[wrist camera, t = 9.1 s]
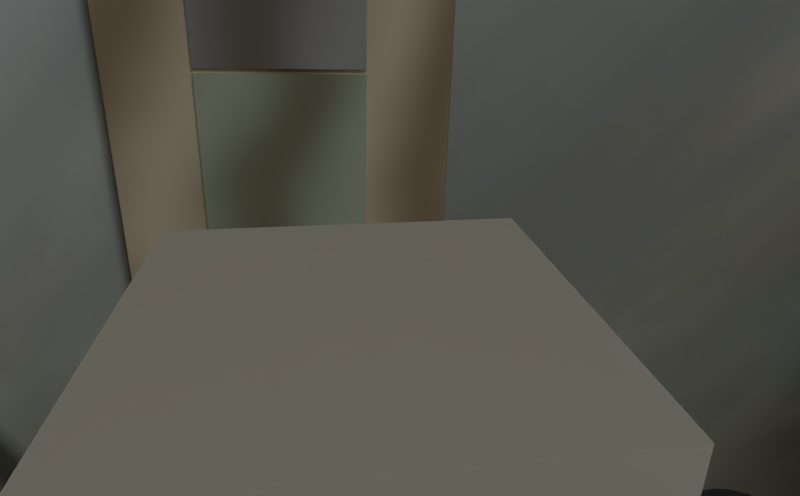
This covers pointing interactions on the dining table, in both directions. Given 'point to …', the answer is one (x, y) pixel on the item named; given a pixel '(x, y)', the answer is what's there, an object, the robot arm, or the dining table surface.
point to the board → (274, 112)
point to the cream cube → (360, 375)
